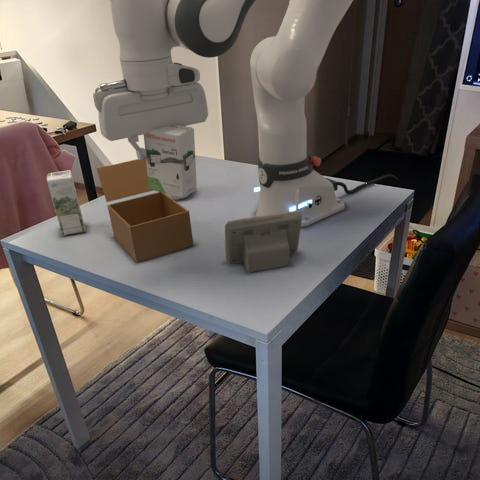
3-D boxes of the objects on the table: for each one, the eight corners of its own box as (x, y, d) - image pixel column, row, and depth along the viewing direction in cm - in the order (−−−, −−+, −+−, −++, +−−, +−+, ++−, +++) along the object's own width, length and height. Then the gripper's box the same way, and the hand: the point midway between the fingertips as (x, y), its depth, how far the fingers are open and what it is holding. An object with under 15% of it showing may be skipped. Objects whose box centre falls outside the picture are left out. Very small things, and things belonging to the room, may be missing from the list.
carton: (114, 238, 127) (107, 205, 123) (167, 223, 133) (161, 191, 128) (137, 262, 116) (129, 227, 111) (193, 245, 121) (189, 211, 116)
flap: (106, 202, 122) (106, 202, 123) (161, 188, 127) (161, 188, 128) (96, 168, 120) (96, 168, 121) (152, 155, 125) (152, 156, 126)
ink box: (147, 189, 103) (140, 127, 96) (163, 181, 106) (157, 121, 99) (183, 198, 99) (178, 133, 92) (198, 189, 103) (194, 126, 96)
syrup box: (84, 224, 136) (70, 168, 128) (85, 233, 131) (71, 175, 123) (62, 228, 135) (46, 172, 127) (62, 237, 130) (46, 179, 122)
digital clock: (299, 249, 116) (299, 203, 110) (304, 268, 108) (304, 220, 102) (226, 254, 116) (221, 208, 110) (226, 274, 108) (221, 226, 102)
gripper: (96, 87, 86) (113, 171, 94) (207, 69, 94) (215, 147, 102) (85, 83, 91) (102, 162, 99) (192, 65, 99) (200, 140, 106)
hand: (160, 154), depth 100 cm, fingers closed on ink box, 6 cm apart
